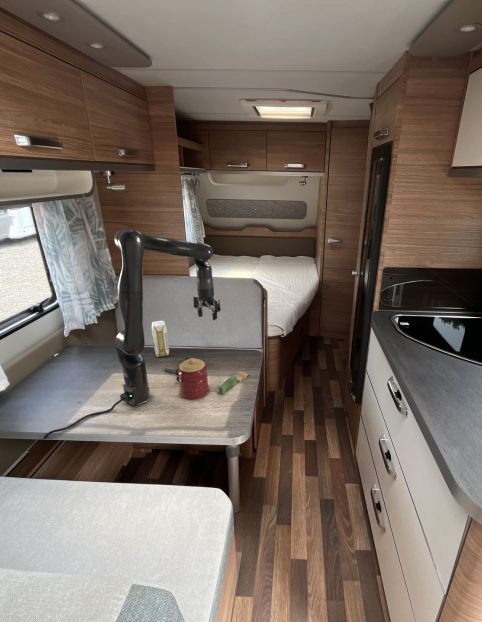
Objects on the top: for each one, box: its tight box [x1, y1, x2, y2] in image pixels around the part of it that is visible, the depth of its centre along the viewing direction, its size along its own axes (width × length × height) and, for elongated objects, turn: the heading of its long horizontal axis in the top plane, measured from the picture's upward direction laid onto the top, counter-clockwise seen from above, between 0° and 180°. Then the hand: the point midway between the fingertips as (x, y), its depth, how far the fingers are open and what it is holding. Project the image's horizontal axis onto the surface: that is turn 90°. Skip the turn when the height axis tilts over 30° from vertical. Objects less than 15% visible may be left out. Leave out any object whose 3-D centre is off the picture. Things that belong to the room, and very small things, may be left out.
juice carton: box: [151, 320, 170, 358], centre depth 188 cm, size 8×9×19 cm
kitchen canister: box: [177, 357, 210, 400], centre depth 154 cm, size 13×13×18 cm
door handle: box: [164, 357, 205, 382], centre depth 174 cm, size 3×20×16 cm
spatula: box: [217, 370, 249, 395], centre depth 163 cm, size 19×6×3 cm, turn 154°
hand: (207, 318), depth 163 cm, fingers open, 8 cm apart
